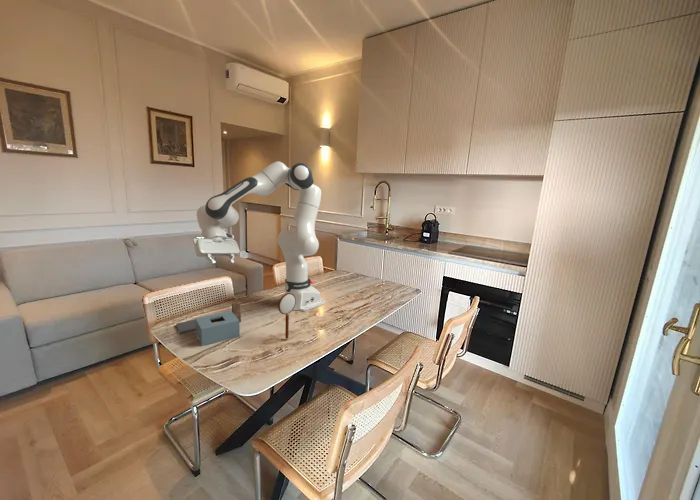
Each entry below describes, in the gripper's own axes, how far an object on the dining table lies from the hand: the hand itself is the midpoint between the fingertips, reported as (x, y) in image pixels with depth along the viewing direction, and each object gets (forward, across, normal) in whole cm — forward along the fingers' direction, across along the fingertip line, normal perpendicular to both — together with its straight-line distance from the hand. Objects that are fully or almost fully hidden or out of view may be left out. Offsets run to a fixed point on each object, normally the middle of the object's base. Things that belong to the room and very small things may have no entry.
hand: (222, 264), depth 132 cm
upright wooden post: (+25, +4, +9) cm, 27 cm away
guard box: (+29, -8, +7) cm, 31 cm away
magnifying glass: (+43, +7, -14) cm, 45 cm away
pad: (+20, -11, +19) cm, 30 cm away
